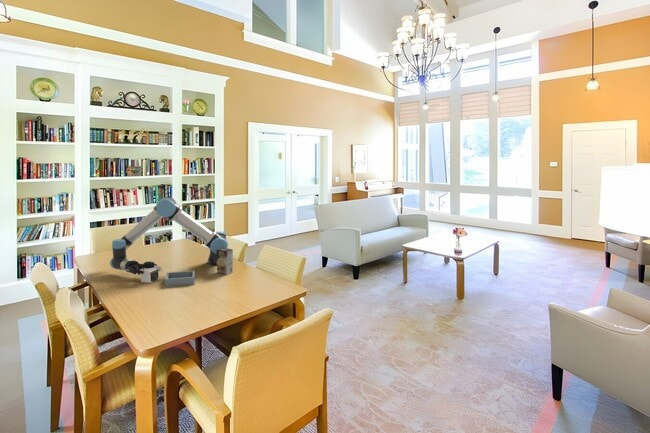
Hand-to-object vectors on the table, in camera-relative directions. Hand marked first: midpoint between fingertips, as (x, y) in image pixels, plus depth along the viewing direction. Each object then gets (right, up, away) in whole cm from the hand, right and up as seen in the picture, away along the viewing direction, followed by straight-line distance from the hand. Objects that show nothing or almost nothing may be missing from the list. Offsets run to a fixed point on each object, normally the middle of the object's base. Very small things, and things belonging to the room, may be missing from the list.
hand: (154, 270), depth 218 cm
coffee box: (+36, -5, +23) cm, 43 cm away
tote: (+15, -7, +2) cm, 17 cm away
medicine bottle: (-4, -7, +3) cm, 9 cm away
